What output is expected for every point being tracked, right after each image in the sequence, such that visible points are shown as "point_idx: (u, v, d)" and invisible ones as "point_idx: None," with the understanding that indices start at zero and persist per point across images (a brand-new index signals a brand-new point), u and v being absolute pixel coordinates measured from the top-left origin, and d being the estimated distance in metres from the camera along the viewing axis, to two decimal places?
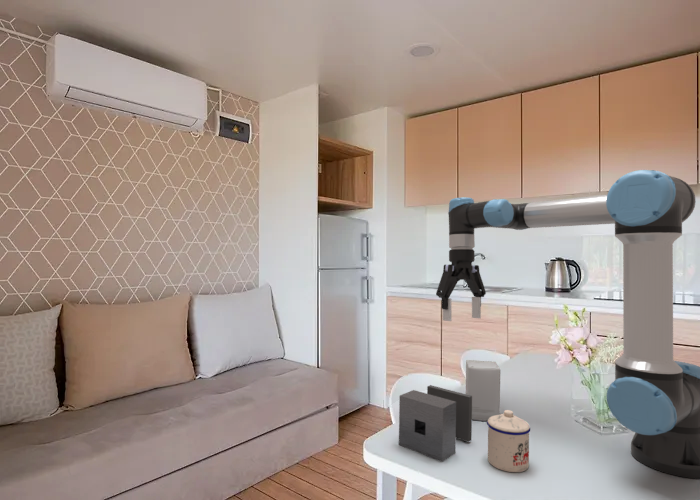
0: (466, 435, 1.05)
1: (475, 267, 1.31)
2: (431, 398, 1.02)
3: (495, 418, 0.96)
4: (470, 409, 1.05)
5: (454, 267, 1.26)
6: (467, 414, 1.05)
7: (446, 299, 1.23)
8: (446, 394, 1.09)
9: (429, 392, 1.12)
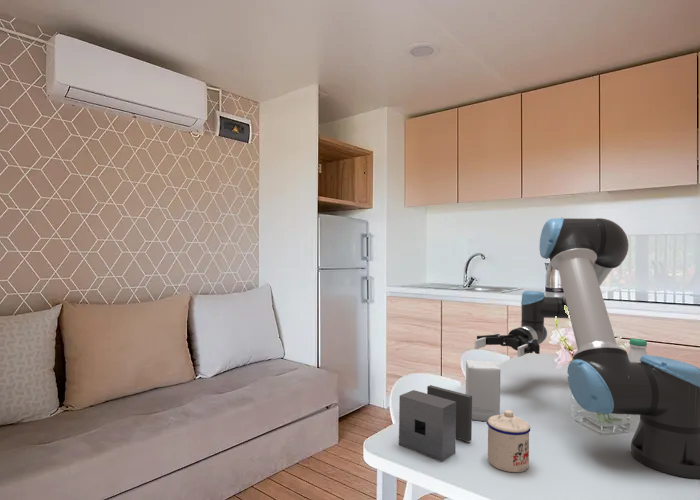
0: (466, 435, 1.05)
1: None
2: (431, 398, 1.02)
3: (495, 418, 0.96)
4: (470, 409, 1.05)
5: None
6: (467, 414, 1.05)
7: None
8: (446, 394, 1.09)
9: (429, 392, 1.12)
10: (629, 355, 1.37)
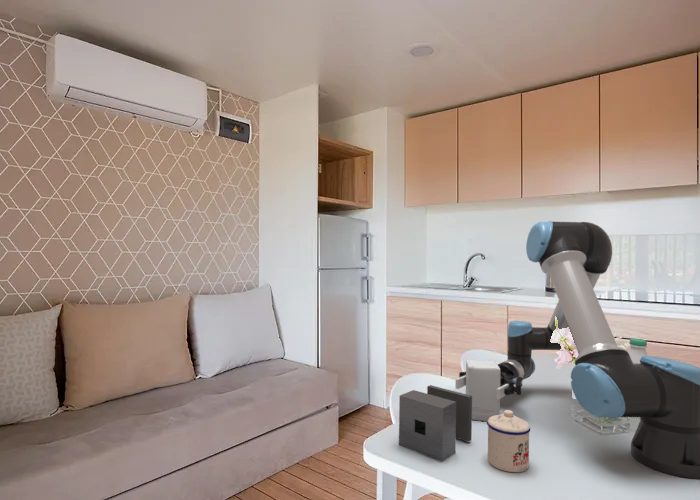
0: (466, 435, 1.05)
1: None
2: (431, 398, 1.02)
3: (495, 418, 0.96)
4: (470, 409, 1.05)
5: None
6: (467, 414, 1.05)
7: None
8: (446, 394, 1.09)
9: (429, 392, 1.12)
10: None
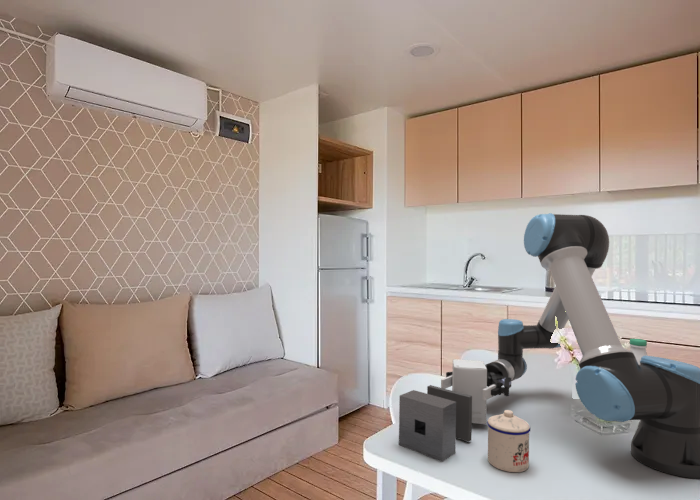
0: (466, 435, 1.05)
1: None
2: (431, 398, 1.02)
3: (495, 418, 0.96)
4: (470, 409, 1.05)
5: None
6: (467, 414, 1.05)
7: None
8: (446, 394, 1.09)
9: (429, 392, 1.12)
10: None
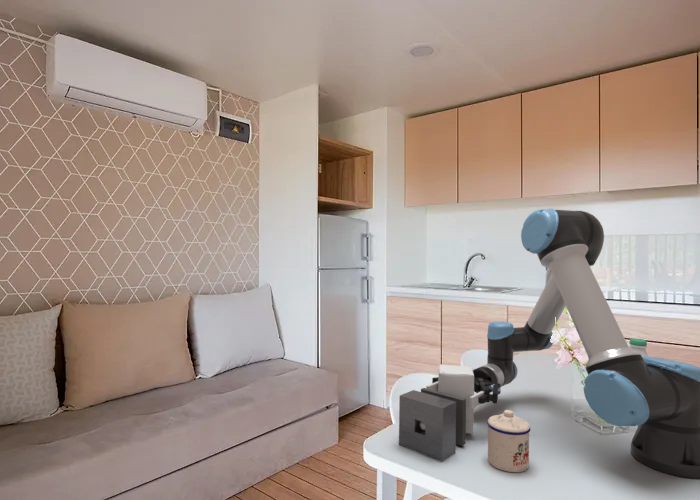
0: (460, 439, 1.02)
1: None
2: (431, 398, 1.02)
3: (495, 418, 0.96)
4: (464, 412, 1.03)
5: None
6: (461, 417, 1.02)
7: None
8: None
9: None
10: None
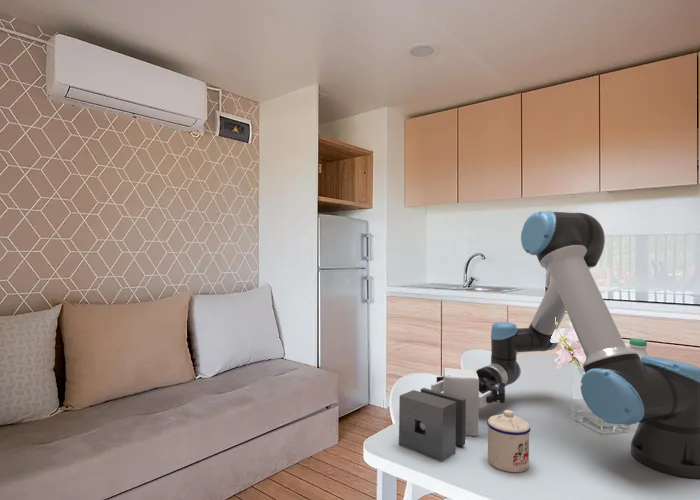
0: (460, 439, 1.02)
1: None
2: (431, 398, 1.02)
3: (495, 418, 0.96)
4: (464, 413, 1.03)
5: None
6: (460, 418, 1.02)
7: None
8: None
9: None
10: None
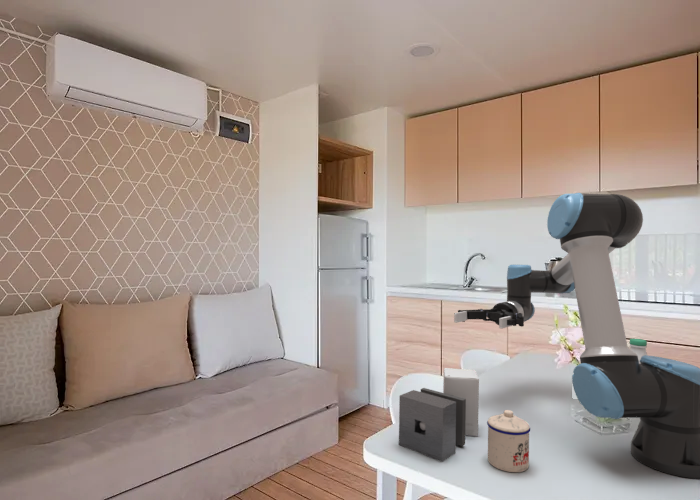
0: (460, 439, 1.02)
1: None
2: (431, 398, 1.02)
3: (495, 418, 0.96)
4: (464, 413, 1.03)
5: None
6: (460, 418, 1.02)
7: None
8: None
9: None
10: None
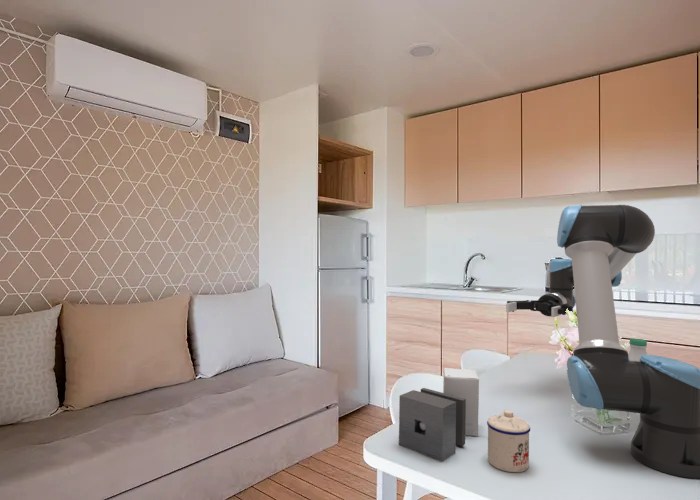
0: (460, 439, 1.02)
1: None
2: (431, 398, 1.02)
3: (495, 418, 0.96)
4: (464, 413, 1.03)
5: None
6: (460, 418, 1.02)
7: None
8: None
9: None
10: (629, 355, 1.37)
